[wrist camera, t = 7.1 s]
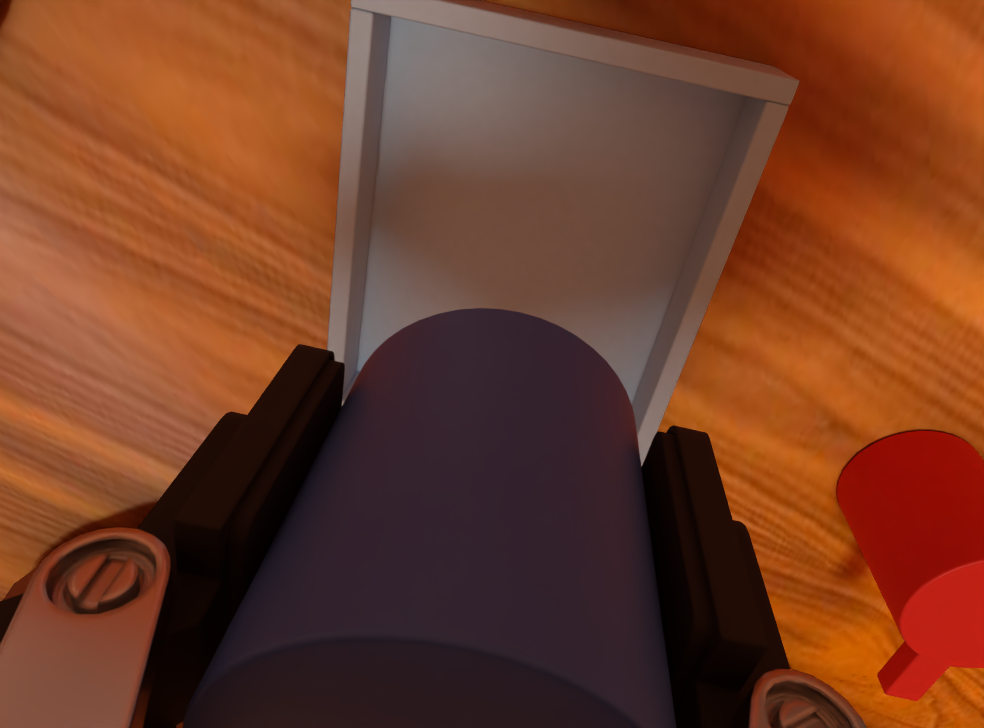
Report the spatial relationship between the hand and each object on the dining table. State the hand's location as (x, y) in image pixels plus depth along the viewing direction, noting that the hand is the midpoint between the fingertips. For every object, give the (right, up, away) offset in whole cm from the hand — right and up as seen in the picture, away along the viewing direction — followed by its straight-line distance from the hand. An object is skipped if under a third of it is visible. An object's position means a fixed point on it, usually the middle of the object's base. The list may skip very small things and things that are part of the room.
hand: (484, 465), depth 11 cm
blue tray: (+1, +6, +11) cm, 12 cm away
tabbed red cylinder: (+15, -4, +15) cm, 22 cm away
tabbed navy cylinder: (0, -1, +1) cm, 1 cm away
